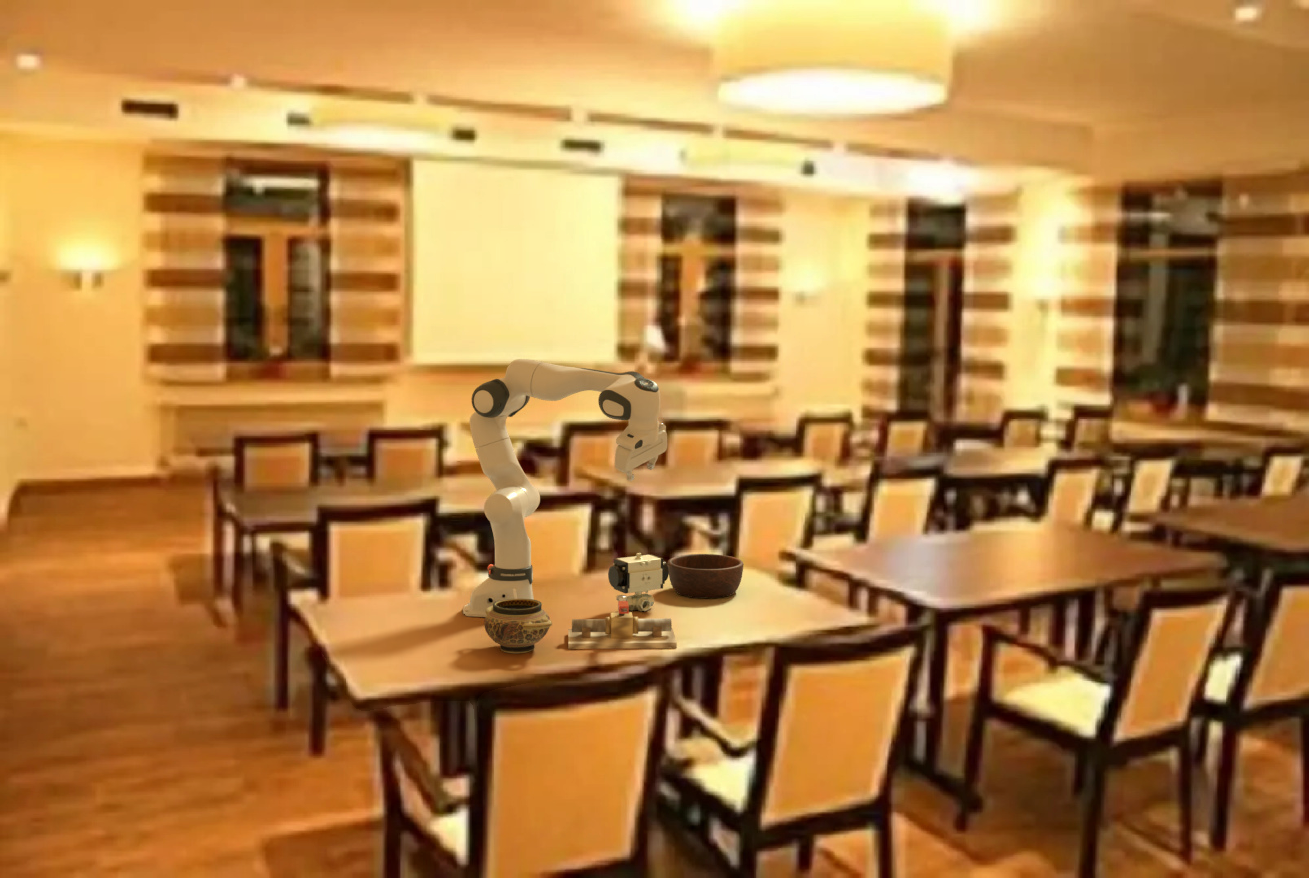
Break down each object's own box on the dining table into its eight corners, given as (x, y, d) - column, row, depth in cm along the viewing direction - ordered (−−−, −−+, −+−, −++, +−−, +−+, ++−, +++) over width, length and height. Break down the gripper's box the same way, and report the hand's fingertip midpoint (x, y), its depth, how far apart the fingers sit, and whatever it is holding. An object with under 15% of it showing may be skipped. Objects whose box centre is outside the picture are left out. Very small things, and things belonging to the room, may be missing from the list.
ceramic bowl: (563, 664, 343) (574, 609, 344) (511, 660, 332) (522, 603, 332) (511, 645, 362) (522, 593, 362) (460, 640, 350) (471, 587, 351)
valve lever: (616, 600, 357) (616, 593, 357) (626, 600, 357) (626, 593, 357) (618, 613, 342) (618, 606, 342) (629, 613, 342) (629, 606, 342)
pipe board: (568, 648, 348) (568, 608, 347) (568, 634, 363) (568, 595, 362) (676, 647, 350) (677, 607, 349) (672, 633, 365) (672, 594, 364)
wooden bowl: (652, 593, 413) (652, 562, 412) (694, 579, 434) (694, 550, 432) (717, 605, 399) (717, 573, 398) (757, 590, 419) (757, 559, 418)
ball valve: (621, 616, 384) (621, 559, 382) (607, 610, 391) (607, 553, 389) (671, 609, 393) (671, 553, 391) (656, 603, 400) (657, 548, 398)
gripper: (657, 417, 374) (654, 458, 381) (612, 440, 360) (610, 482, 367) (674, 424, 371) (670, 465, 378) (629, 448, 357) (626, 490, 363)
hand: (640, 474), depth 372 cm, fingers open, 8 cm apart
